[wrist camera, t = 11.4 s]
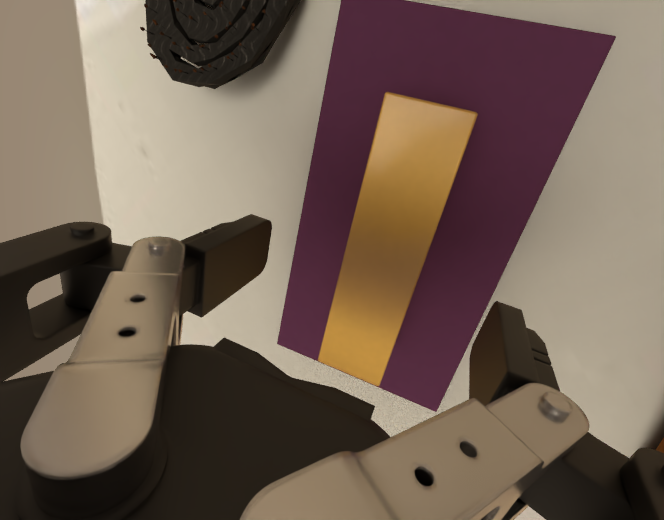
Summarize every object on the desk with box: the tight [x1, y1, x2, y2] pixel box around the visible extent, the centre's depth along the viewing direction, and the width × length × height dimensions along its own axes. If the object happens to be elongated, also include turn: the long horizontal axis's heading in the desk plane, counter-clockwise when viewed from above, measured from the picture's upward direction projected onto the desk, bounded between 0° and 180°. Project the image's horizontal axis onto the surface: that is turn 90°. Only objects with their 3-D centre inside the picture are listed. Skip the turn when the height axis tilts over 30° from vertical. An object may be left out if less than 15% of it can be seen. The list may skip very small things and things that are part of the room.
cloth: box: [277, 0, 616, 412], centre depth 19 cm, size 20×11×1 cm, turn 167°
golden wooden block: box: [318, 92, 478, 386], centre depth 17 cm, size 13×3×4 cm, turn 167°
